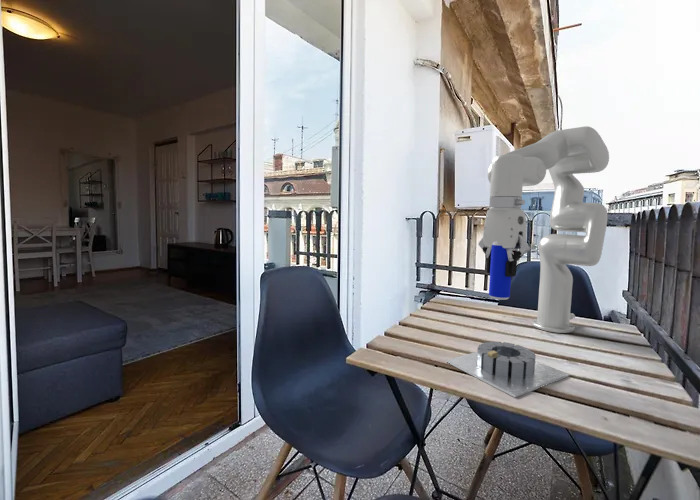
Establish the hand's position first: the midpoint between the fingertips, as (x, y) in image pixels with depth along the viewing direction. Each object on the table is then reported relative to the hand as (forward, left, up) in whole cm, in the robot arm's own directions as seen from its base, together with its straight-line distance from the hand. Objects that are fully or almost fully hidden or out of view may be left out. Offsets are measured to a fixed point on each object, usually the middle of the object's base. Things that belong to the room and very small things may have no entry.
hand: (500, 273), depth 93 cm
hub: (+4, +6, -23) cm, 24 cm away
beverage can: (0, 0, -7) cm, 7 cm away
